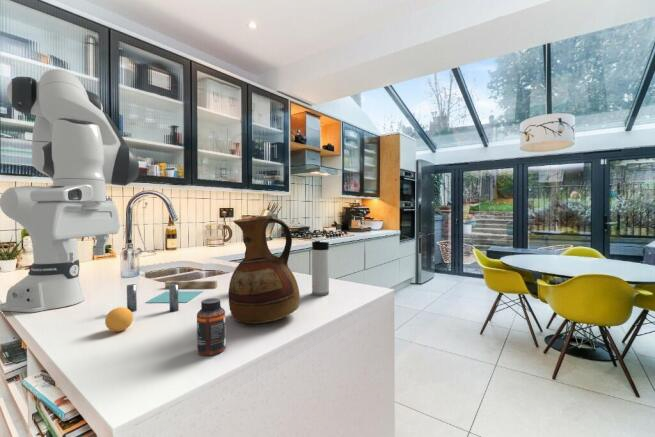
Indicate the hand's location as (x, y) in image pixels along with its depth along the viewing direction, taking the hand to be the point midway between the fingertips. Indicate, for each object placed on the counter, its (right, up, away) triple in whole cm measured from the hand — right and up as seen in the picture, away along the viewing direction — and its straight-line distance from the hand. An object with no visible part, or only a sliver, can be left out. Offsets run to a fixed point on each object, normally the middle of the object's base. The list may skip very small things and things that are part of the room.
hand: (83, 258), depth 67 cm
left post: (-8, -20, +29) cm, 36 cm away
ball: (-1, -18, +13) cm, 22 cm away
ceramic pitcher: (+35, -20, +23) cm, 46 cm away
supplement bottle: (+27, -21, +2) cm, 34 cm away
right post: (+5, -20, +29) cm, 36 cm away
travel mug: (+50, -20, +48) cm, 72 cm away
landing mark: (-2, -20, +44) cm, 48 cm away
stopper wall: (-2, -19, +58) cm, 61 cm away
